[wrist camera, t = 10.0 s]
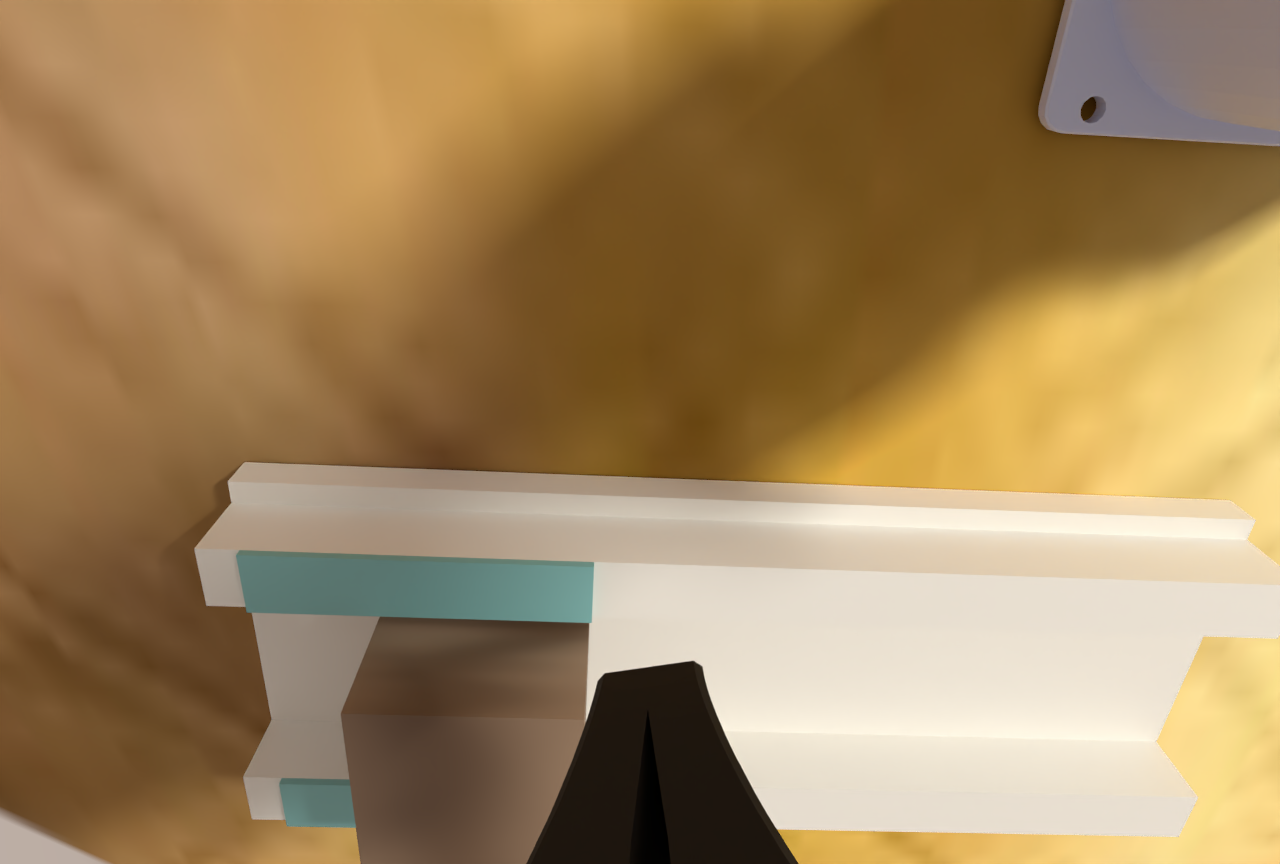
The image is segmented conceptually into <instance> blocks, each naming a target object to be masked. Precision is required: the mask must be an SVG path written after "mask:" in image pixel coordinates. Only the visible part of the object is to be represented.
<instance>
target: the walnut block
mask: <svg viewBox="0 0 1280 864" xmlns="http://www.w3.org/2000/svg"><path fill="white" fill-rule="evenodd" d="M588 649H589V623H575V622H542V621H509V620H476V619H443V618H410V617H379V620H378V622H377V625H376V627H375V630H374V632H373V635H372V637H371V640H370V642H369V645H368V647H367V650H366V652H365V654H364V657H363V659H362V662H361V664H360V667H359V669H358V672H357V674H356V677H355V679H354V682H353V684H352V687H351V689H350V692H349V694H348V697H347V699H346V701H345V704H344V706H343V709H342V711H341V721H342V728H343V736H344V743H345V750H346V758H347V765H348V773H349V780H350V787H351V795H352V802H353V810H354V817H355V824H356V832H357V839H358V847H359V854H360V861H361V864H526V863H527V861H528V859H529V857H530V855H531V853H532V851H533V849H534V847H535V844H536V842H537V840H538V838H539V836H540V834H541V832H542V830H543V828H544V826H545V824H546V822H547V819H548V817H549V815H550V813H551V810H552V808H553V806H554V803H555V801H556V799H557V796H558V794H559V791H560V789H561V786H562V784H563V782H564V779H565V777H566V774H567V772H568V769H569V767H570V764H571V762H572V760H573V757H574V754H575V751H576V749H577V746H578V743H579V740H580V738H581V735H582V732H583V729H584V726H585V723H586V702H587V675H588Z"/></svg>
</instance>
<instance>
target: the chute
mask: <svg viewBox="0 0 1280 864" xmlns="http://www.w3.org/2000/svg"><path fill="white" fill-rule="evenodd" d="M228 487H229V492H230V498H231V504H230V505H229V506H228V508H227V509H226V510H225V511H224V512H223V514H222V515H221V516H220V517H219V519H218V520H217V521H216V522H215V524H214V525H213V526H212V527H211V528H210V530H209V531H208V532H207V533H206V535H205V536H204V537H203V538H202V540H201V541H200V542H199V543H198V544H197V546H196V547H195V548H194V550H195V555H196V559H197V564H198V569H199V573H200V578H201V583H202V587H203V592H204V597H205V601H206V606H230V607H246V612H247V613H252V617H253V622H254V627H255V633H256V638H257V644H258V649H259V654H260V660H261V665H262V671H263V676H264V682H265V687H266V692H267V698H268V703H269V709H270V714H271V719H272V720H271V722H270V724H269V726H268V728H267V730H266V732H265V734H264V736H263V738H262V740H261V742H260V744H259V746H258V748H257V750H256V752H255V754H254V756H253V758H252V760H251V762H250V764H249V766H248V768H247V770H246V772H245V774H244V776H243V779H244V784H245V789H246V793H247V798H248V803H249V807H250V812H251V817H252V819H266V820H286V824H287V826H296V827H350V828H356V824H355V817H354V810H353V802H352V795H351V787H350V780H349V773H348V765H347V758H346V750H345V743H344V736H343V728H342V721H341V711H342V709H343V706H344V704H345V701H346V699H347V697H348V694H349V692H350V689H351V687H352V684H353V682H354V679H355V677H356V674H357V672H358V669H359V667H360V664H361V662H362V659H363V657H364V654H365V652H366V650H367V647H368V645H369V642H370V640H371V637H372V635H373V632H374V630H375V627H376V625H377V622H378V620H379V617H410V618H443V619H476V620H509V621H542V622H575V623H589V649H588V675H587V702H586V720H587V717H588V714H589V711H590V707H591V704H592V701H593V697H594V694H595V690H596V685H597V681H598V680H599V679H600V678H601V677H602V675H603V674H604V673H610V672H617V671H624V670H631V669H638V668H645V667H652V666H659V665H666V664H673V663H680V662H687V661H695V662H696V663H698V664H700V665H701V666H703V672H704V678H705V682H706V685H707V689H708V692H709V695H710V698H711V701H712V704H713V706H714V709H715V711H716V714H717V716H718V719H719V721H720V723H721V726H722V728H723V730H724V733H725V735H726V737H727V739H728V741H729V744H730V746H731V748H732V750H733V752H734V754H735V756H736V758H737V760H738V762H739V763H740V765H741V767H742V769H743V771H744V773H745V775H746V777H747V779H748V780H749V782H750V784H751V786H752V788H753V790H754V792H755V794H756V795H757V797H758V799H759V800H760V802H761V804H762V806H763V807H764V809H765V811H766V813H767V814H768V816H769V818H770V819H771V821H772V823H773V824H774V826H775V827H776V829H793V830H845V831H898V832H951V833H1003V834H1056V835H1109V836H1162V837H1179V835H1180V833H1181V831H1182V829H1183V827H1184V825H1185V823H1186V821H1187V819H1188V817H1189V815H1190V813H1191V811H1192V809H1193V807H1194V805H1195V803H1196V801H1197V799H1198V797H1197V795H1196V794H1195V793H1194V791H1193V790H1192V789H1191V787H1190V786H1189V785H1188V783H1187V782H1186V781H1185V779H1184V778H1183V777H1182V775H1181V774H1180V773H1179V771H1178V770H1177V769H1176V767H1175V766H1174V765H1173V763H1172V762H1171V761H1170V759H1169V758H1168V757H1167V755H1166V754H1165V753H1164V751H1163V750H1162V749H1161V747H1160V746H1159V745H1158V743H1157V742H1156V741H1157V739H1158V736H1159V734H1160V732H1161V730H1162V728H1163V725H1164V723H1165V721H1166V719H1167V716H1168V714H1169V712H1170V710H1171V708H1172V705H1173V703H1174V701H1175V699H1176V696H1177V694H1178V692H1179V690H1180V688H1181V685H1182V683H1183V681H1184V679H1185V676H1186V674H1187V672H1188V670H1189V668H1190V665H1191V663H1192V661H1193V659H1194V656H1195V654H1196V652H1197V650H1198V648H1199V645H1200V643H1201V641H1202V639H1203V636H1210V637H1243V638H1276V639H1278V637H1279V635H1280V566H1279V565H1278V564H1276V563H1275V562H1274V561H1273V560H1272V559H1270V558H1269V557H1268V556H1267V555H1265V554H1264V553H1263V552H1262V551H1261V550H1259V549H1258V548H1257V547H1256V546H1254V545H1253V544H1252V543H1251V542H1249V541H1248V540H1247V539H1248V536H1249V534H1250V532H1251V530H1252V527H1253V525H1254V523H1255V521H1256V520H1255V519H1254V518H1253V517H1251V516H1250V515H1249V514H1247V513H1246V512H1245V511H1244V510H1242V509H1241V508H1240V507H1238V506H1237V505H1236V504H1235V503H1233V502H1232V501H1231V500H1214V499H1188V498H1162V497H1136V496H1110V495H1084V494H1058V493H1032V492H1007V491H981V490H955V489H929V488H903V487H877V486H851V485H825V484H799V483H773V482H747V481H721V480H695V479H669V478H643V477H617V476H591V475H565V474H539V473H513V472H487V471H461V470H436V469H410V468H384V467H358V466H332V465H306V464H280V463H254V462H244V463H243V464H242V465H241V466H240V468H239V469H238V470H237V471H236V472H235V473H234V475H233V476H232V477H231V478H230V479H229V480H228Z"/></svg>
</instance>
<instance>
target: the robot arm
mask: <svg viewBox="0 0 1280 864" xmlns="http://www.w3.org/2000/svg"><path fill="white" fill-rule="evenodd" d="M1090 97H1094V99H1095V101H1096V110H1095V112H1094V114H1093V115H1092V116H1091V117H1090V118H1089V119H1087V120H1085V121H1083V119H1082V118H1081V108H1082V106H1083V104H1084V102H1085V101H1086V100H1088V99H1089V98H1090ZM1038 116H1039V119H1040V122H1041V124H1042V125H1043V126H1044V127H1045V128H1046V129H1047V130H1051V131H1054V132H1058V133H1064V134H1080V135H1097V136H1114V137H1131V138H1148V139H1165V140H1182V141H1199V142H1216V143H1233V144H1249V145H1266V146H1280V0H1065V3H1064V7H1063V11H1062V15H1061V19H1060V23H1059V27H1058V31H1057V35H1056V39H1055V43H1054V47H1053V51H1052V55H1051V59H1050V63H1049V67H1048V71H1047V75H1046V79H1045V83H1044V87H1043V91H1042V95H1041V99H1040V103H1039V111H1038ZM526 864H798V862H797V861H796V859H795V858H794V856H793V855H792V853H791V851H790V850H789V848H788V847H787V845H786V844H785V842H784V840H783V839H782V837H781V835H780V834H779V832H778V831H777V829H776V827H775V826H774V824H773V823H772V821H771V819H770V818H769V816H768V814H767V813H766V811H765V809H764V807H763V806H762V804H761V802H760V800H759V799H758V797H757V795H756V794H755V792H754V790H753V788H752V786H751V784H750V782H749V780H748V779H747V777H746V775H745V773H744V771H743V769H742V767H741V765H740V763H739V762H738V760H737V758H736V756H735V754H734V752H733V750H732V748H731V746H730V744H729V741H728V739H727V737H726V735H725V733H724V730H723V728H722V726H721V723H720V721H719V719H718V716H717V714H716V711H715V709H714V706H713V704H712V701H711V698H710V695H709V692H708V689H707V685H706V682H705V678H704V672H703V666H701V665H700V664H698V663H696V662H695V661H687V662H680V663H673V664H666V665H659V666H652V667H645V668H638V669H631V670H624V671H617V672H610V673H604V674H603V675H602V677H601V678H600V679H599V680H598V681H597V685H596V690H595V694H594V697H593V701H592V704H591V707H590V711H589V714H588V717H587V720H586V723H585V726H584V729H583V732H582V735H581V738H580V740H579V743H578V746H577V749H576V751H575V754H574V757H573V760H572V762H571V764H570V767H569V769H568V772H567V774H566V777H565V779H564V782H563V784H562V786H561V789H560V791H559V794H558V796H557V799H556V801H555V803H554V806H553V808H552V810H551V813H550V815H549V817H548V819H547V822H546V824H545V826H544V828H543V830H542V832H541V834H540V836H539V838H538V840H537V842H536V844H535V847H534V849H533V851H532V853H531V855H530V857H529V859H528V861H527V863H526Z"/></svg>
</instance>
